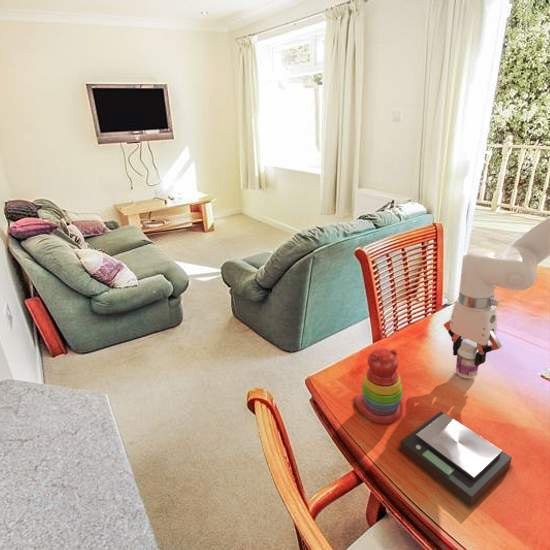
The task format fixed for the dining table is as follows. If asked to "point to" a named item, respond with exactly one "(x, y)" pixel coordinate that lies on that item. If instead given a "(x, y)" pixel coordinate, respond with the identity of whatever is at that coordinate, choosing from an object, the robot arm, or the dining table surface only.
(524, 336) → the dining table surface
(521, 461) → the dining table surface
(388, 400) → the stacking bear
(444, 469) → the scale
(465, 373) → the pill bottle
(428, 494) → the dining table surface
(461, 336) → the robot arm
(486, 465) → the weighing pan
